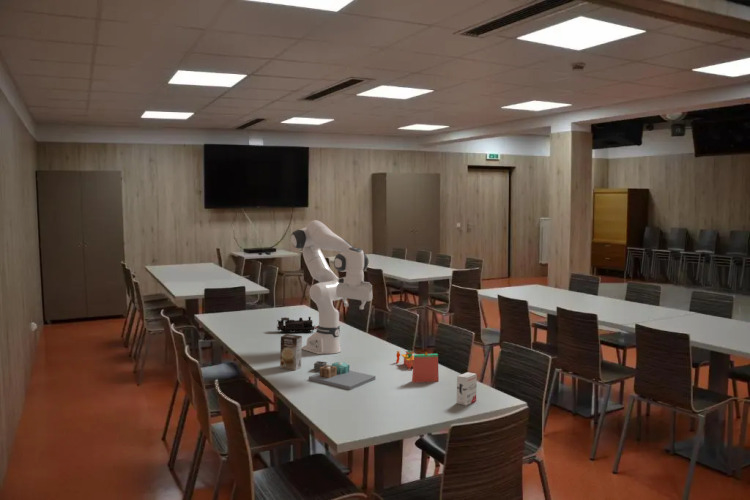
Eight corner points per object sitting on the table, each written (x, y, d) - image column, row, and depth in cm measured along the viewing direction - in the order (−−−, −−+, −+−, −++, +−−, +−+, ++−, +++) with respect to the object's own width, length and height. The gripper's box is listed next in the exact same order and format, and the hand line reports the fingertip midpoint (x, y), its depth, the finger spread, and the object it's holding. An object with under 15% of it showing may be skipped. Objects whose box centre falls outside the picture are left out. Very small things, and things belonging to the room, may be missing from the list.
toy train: (316, 333, 370) (316, 318, 369) (276, 334, 366) (276, 318, 366) (315, 331, 378) (316, 315, 377) (276, 331, 374) (276, 315, 373)
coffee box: (279, 368, 291) (279, 336, 290) (285, 365, 297) (285, 333, 296) (296, 370, 288) (296, 338, 287) (301, 367, 294) (302, 335, 293)
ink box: (466, 398, 252) (467, 371, 251) (476, 401, 249) (477, 373, 248) (455, 403, 246) (456, 375, 245) (465, 406, 243) (467, 377, 242)
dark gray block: (314, 370, 288) (314, 363, 288) (317, 368, 293) (317, 361, 292) (323, 371, 287) (323, 364, 286) (326, 369, 291) (326, 362, 291)
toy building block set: (413, 383, 273) (414, 353, 272) (393, 362, 307) (393, 336, 306) (438, 381, 276) (439, 352, 275) (416, 361, 310) (416, 335, 309)
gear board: (308, 379, 273) (308, 368, 273) (335, 370, 290) (335, 359, 289) (350, 389, 260) (350, 377, 259) (375, 379, 277) (375, 367, 276)
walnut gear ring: (318, 376, 274) (318, 367, 274) (328, 372, 280) (328, 364, 280) (328, 378, 271) (328, 369, 271) (337, 374, 277) (337, 366, 277)
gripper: (375, 282, 289) (374, 309, 290) (342, 277, 300) (341, 304, 301) (368, 283, 283) (367, 311, 285) (334, 278, 295) (334, 306, 296)
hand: (353, 307), depth 293 cm, fingers open, 8 cm apart
